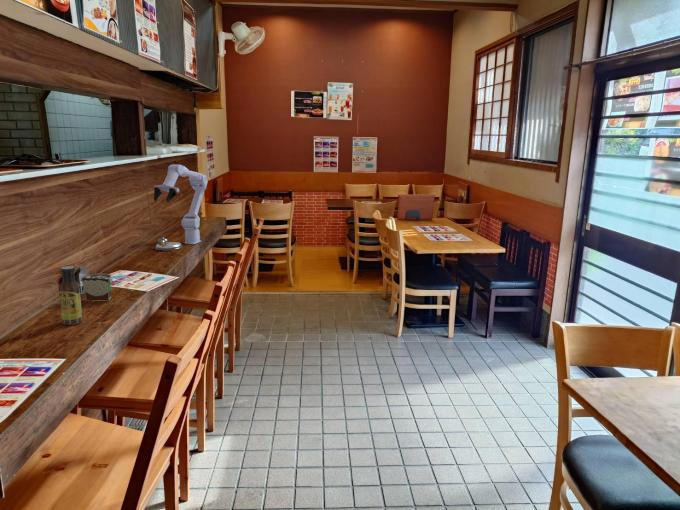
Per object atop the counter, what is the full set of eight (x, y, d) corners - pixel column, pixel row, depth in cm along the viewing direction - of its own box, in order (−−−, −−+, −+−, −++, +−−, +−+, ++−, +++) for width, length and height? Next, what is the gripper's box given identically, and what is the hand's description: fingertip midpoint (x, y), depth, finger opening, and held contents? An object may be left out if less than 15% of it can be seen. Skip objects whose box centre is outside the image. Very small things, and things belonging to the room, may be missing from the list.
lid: (161, 243, 286) (161, 236, 285) (169, 243, 285) (168, 237, 284) (157, 244, 281) (156, 238, 280) (164, 245, 280) (164, 238, 279)
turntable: (164, 243, 290) (163, 235, 289) (185, 244, 288) (185, 237, 287) (151, 248, 277) (150, 240, 276) (173, 249, 275) (173, 241, 274)
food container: (121, 297, 193) (118, 273, 191) (112, 302, 187) (110, 277, 185) (92, 296, 194) (89, 272, 192) (82, 300, 188) (80, 276, 186)
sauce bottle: (58, 325, 162) (51, 269, 158) (68, 319, 169) (62, 264, 164) (77, 326, 162) (70, 269, 158) (86, 319, 169) (80, 265, 164)
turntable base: (164, 245, 291) (163, 243, 291) (186, 246, 289) (186, 244, 289) (150, 250, 277) (150, 248, 277) (174, 251, 274) (174, 250, 274)
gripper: (155, 176, 270) (146, 194, 264) (178, 178, 268) (170, 197, 261) (160, 183, 276) (151, 202, 270) (183, 186, 274) (175, 205, 267)
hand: (161, 200), depth 266 cm, fingers open, 7 cm apart
